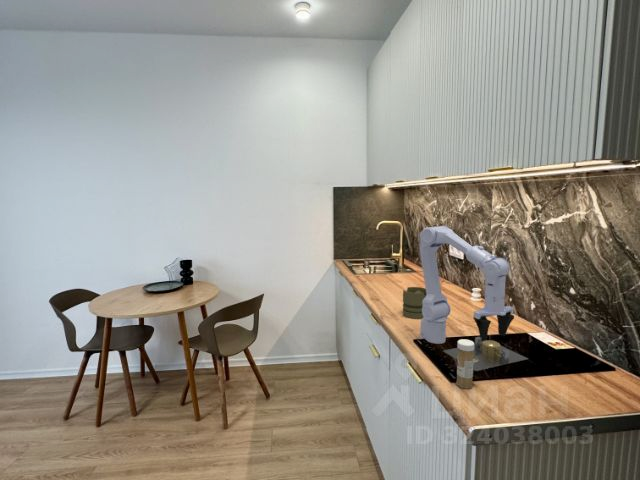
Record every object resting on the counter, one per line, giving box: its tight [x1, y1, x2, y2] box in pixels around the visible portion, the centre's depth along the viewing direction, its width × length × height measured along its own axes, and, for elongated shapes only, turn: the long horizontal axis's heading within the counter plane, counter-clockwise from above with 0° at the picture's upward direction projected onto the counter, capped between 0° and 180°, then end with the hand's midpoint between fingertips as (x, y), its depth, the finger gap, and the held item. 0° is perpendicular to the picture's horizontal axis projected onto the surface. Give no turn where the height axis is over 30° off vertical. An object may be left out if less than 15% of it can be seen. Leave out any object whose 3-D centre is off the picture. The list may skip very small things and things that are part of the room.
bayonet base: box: [442, 336, 529, 372], centre depth 125 cm, size 16×22×4 cm
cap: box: [480, 339, 501, 359], centre depth 126 cm, size 9×6×4 cm, turn 20°
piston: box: [402, 286, 427, 320], centre depth 169 cm, size 11×12×11 cm
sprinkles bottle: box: [456, 338, 475, 389], centre depth 107 cm, size 5×5×14 cm
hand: (492, 336), depth 119 cm, fingers open, 7 cm apart
